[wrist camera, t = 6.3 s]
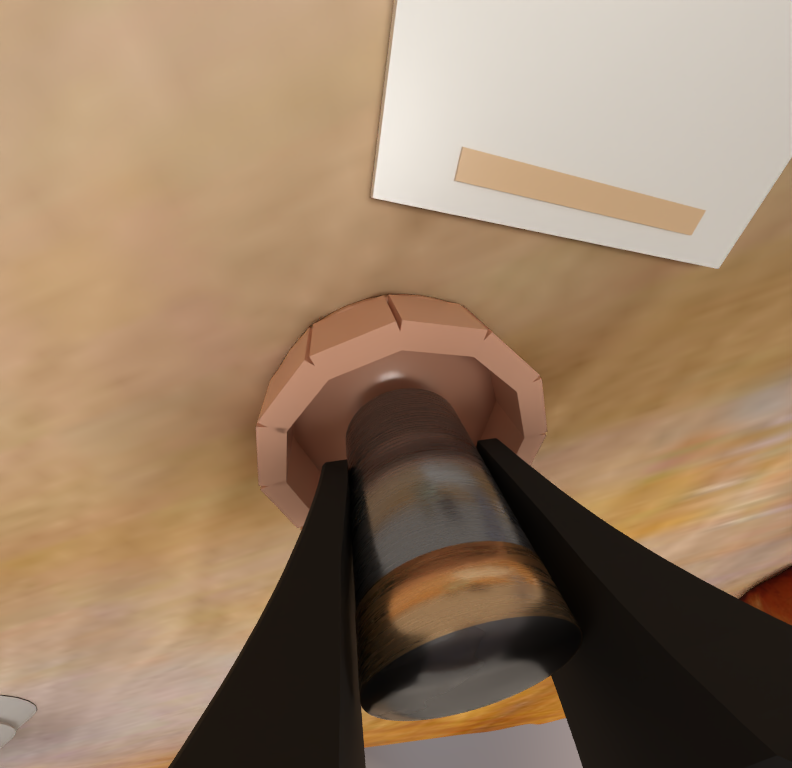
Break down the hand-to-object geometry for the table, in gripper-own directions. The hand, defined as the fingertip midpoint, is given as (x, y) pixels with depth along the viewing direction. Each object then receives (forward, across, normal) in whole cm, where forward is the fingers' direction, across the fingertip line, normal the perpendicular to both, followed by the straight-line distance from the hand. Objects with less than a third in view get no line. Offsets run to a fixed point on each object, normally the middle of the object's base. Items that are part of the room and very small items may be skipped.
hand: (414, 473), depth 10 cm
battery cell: (+2, 0, 0) cm, 2 cm away
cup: (+3, 0, 0) cm, 3 cm away
